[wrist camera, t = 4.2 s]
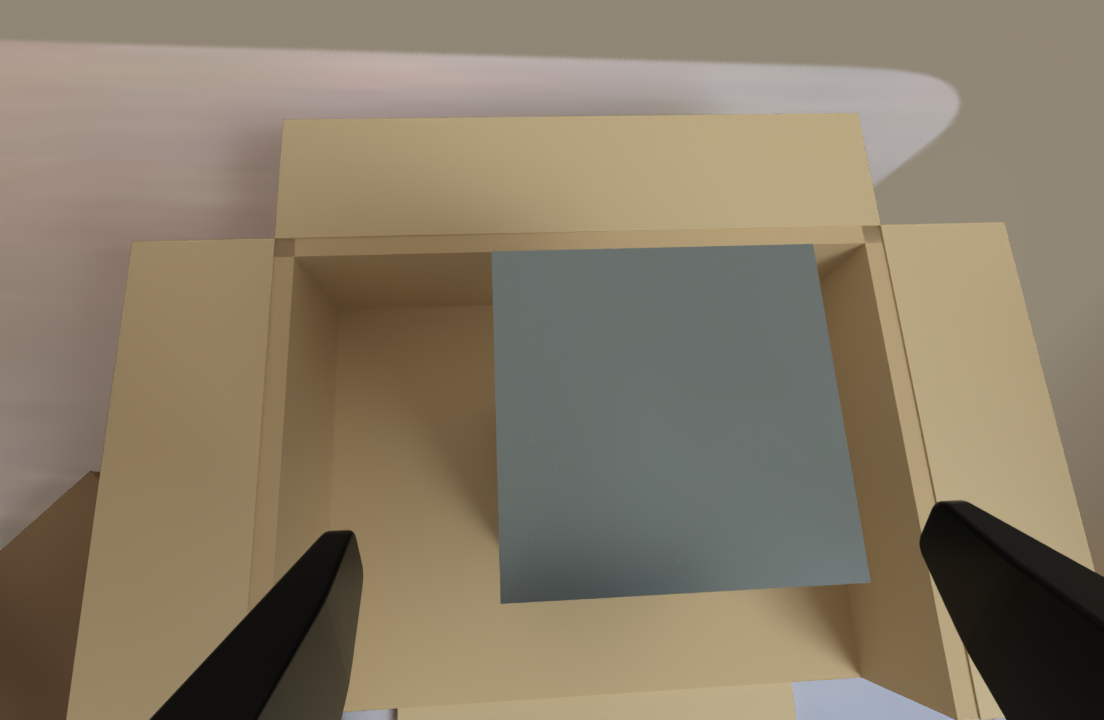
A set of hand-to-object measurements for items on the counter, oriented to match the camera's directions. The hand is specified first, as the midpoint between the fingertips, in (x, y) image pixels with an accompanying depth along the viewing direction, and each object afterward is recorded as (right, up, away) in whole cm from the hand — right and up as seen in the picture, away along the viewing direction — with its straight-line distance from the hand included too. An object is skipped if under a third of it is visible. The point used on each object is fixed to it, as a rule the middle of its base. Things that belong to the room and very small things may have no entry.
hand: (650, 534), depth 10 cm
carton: (-1, -2, +9) cm, 9 cm away
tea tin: (-1, -1, +9) cm, 9 cm away
